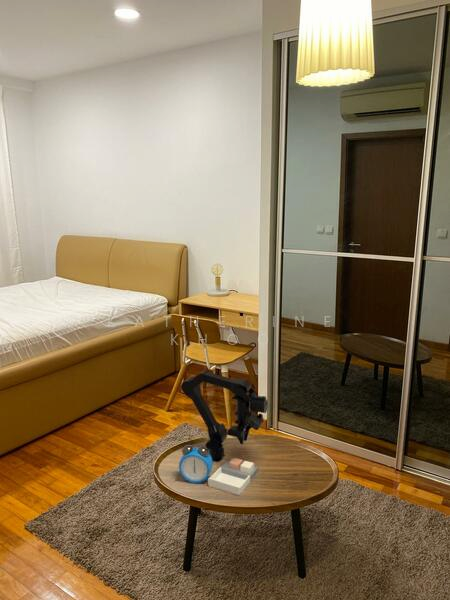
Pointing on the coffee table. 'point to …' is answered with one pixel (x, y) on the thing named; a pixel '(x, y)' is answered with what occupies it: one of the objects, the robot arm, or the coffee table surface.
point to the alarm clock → (195, 463)
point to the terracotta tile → (235, 463)
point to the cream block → (247, 467)
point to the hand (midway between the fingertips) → (243, 442)
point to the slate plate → (238, 471)
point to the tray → (228, 482)
